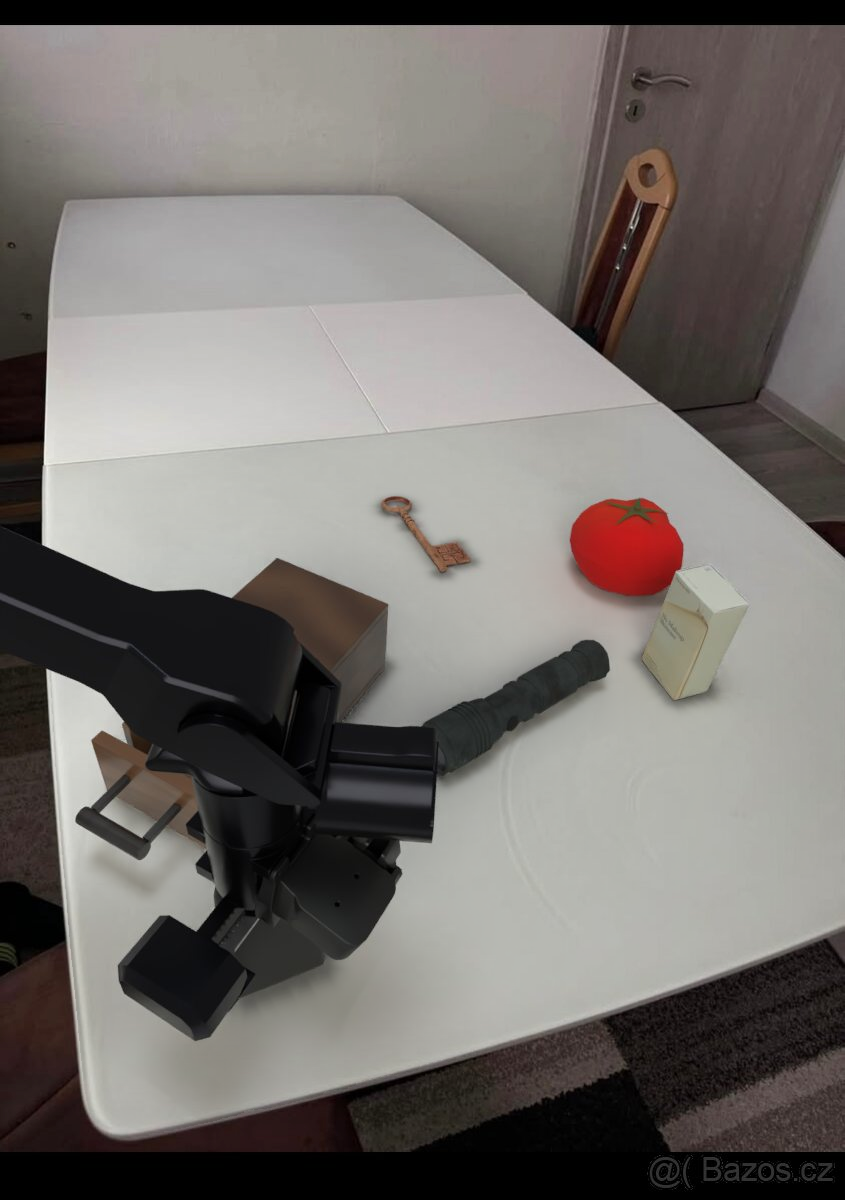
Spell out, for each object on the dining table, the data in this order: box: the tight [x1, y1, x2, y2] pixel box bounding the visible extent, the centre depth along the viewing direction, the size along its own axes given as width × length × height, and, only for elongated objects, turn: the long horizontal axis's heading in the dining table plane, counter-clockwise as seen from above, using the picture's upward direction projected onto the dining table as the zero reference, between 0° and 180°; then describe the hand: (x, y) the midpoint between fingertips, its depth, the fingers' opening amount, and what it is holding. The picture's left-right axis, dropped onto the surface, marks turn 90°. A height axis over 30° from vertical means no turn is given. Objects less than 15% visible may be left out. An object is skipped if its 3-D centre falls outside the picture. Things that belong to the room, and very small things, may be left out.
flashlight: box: [421, 639, 611, 777], centre depth 75 cm, size 5×21×5 cm, turn 128°
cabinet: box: [231, 557, 389, 723], centre depth 75 cm, size 15×13×9 cm
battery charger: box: [213, 886, 325, 999], centre depth 55 cm, size 7×4×11 cm, turn 115°
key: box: [380, 495, 472, 573], centre depth 98 cm, size 6×1×15 cm
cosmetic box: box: [641, 562, 751, 701], centre depth 79 cm, size 6×4×12 cm
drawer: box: [74, 710, 291, 861], centre depth 66 cm, size 18×11×7 cm, turn 152°
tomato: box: [569, 497, 685, 597], centre depth 91 cm, size 11×13×10 cm
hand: (270, 938), depth 56 cm, fingers closed on battery charger, 8 cm apart
